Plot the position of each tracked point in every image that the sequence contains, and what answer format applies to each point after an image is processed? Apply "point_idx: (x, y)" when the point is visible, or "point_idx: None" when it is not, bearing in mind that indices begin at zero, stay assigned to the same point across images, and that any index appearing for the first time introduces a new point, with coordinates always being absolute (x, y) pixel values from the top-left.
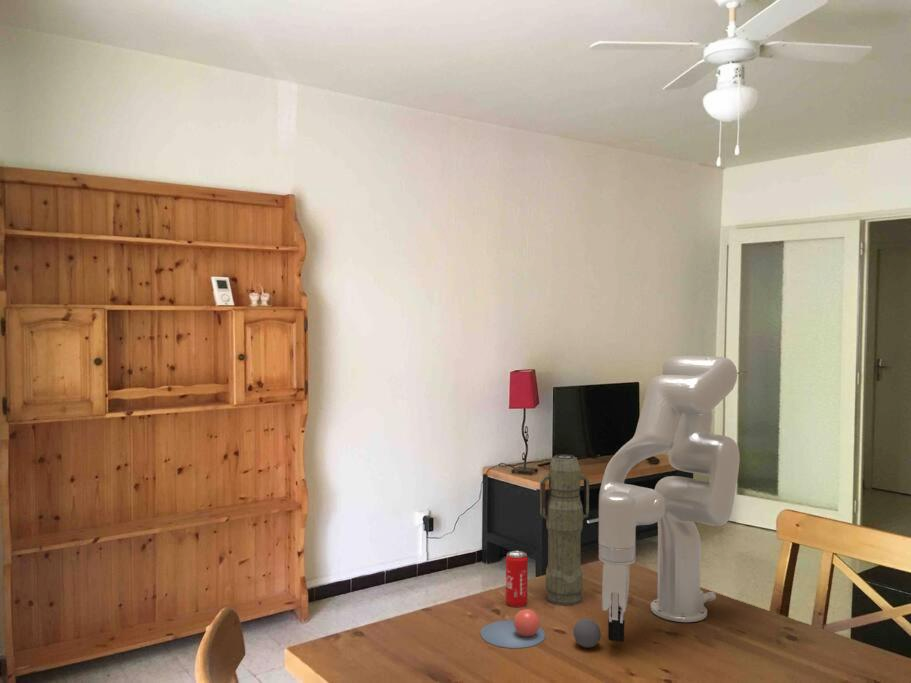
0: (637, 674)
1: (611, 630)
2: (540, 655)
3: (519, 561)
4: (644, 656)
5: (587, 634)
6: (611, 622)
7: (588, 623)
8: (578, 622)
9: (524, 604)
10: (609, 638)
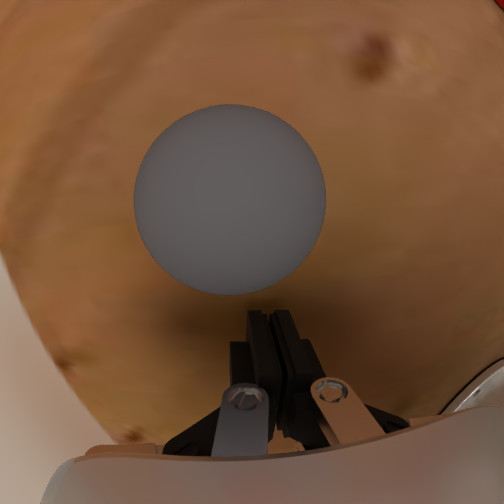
0: (68, 378)
1: (251, 354)
2: (89, 12)
3: None
4: (202, 404)
5: (135, 216)
6: (230, 397)
7: (180, 233)
8: (216, 134)
9: (500, 3)
10: (248, 317)
